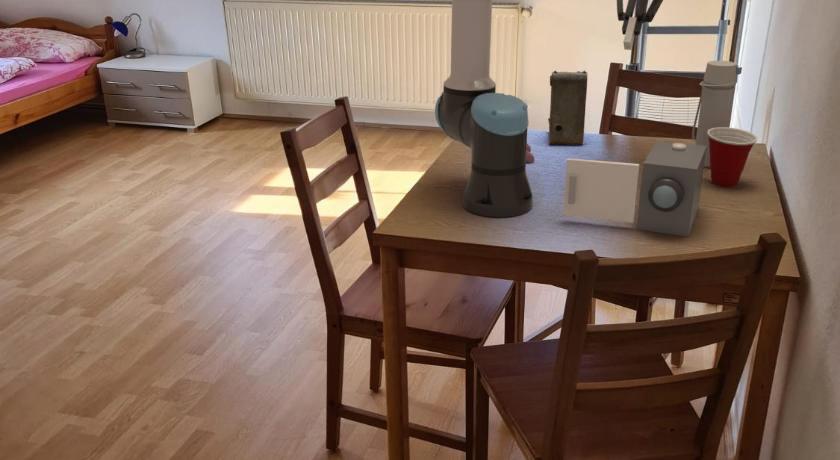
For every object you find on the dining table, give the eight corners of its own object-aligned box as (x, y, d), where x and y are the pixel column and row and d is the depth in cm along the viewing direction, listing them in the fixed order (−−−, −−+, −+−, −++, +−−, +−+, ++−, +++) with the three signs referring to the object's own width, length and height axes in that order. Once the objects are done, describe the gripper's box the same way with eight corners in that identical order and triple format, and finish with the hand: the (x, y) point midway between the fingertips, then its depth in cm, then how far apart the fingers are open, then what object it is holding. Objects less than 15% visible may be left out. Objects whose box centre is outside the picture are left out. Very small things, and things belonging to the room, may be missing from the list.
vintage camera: (579, 132, 223) (582, 62, 215) (584, 146, 208) (588, 71, 201) (545, 132, 224) (547, 62, 216) (548, 146, 209) (550, 72, 202)
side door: (633, 220, 157) (639, 164, 152) (632, 224, 155) (638, 167, 151) (564, 213, 161) (567, 158, 157) (562, 217, 160) (566, 161, 155)
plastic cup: (730, 194, 174) (738, 143, 169) (690, 181, 182) (697, 132, 177) (760, 185, 179) (768, 134, 175) (720, 172, 188) (727, 124, 183)
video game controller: (516, 157, 206) (504, 134, 203) (531, 150, 205) (520, 127, 203) (519, 169, 197) (508, 146, 194) (536, 161, 196) (524, 138, 193)
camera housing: (686, 241, 151) (695, 169, 145) (632, 233, 155) (639, 162, 149) (698, 208, 166) (707, 142, 161) (648, 202, 170) (656, 137, 165)
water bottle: (730, 165, 193) (745, 63, 183) (710, 171, 189) (724, 68, 179) (699, 155, 200) (712, 57, 190) (679, 161, 196) (691, 61, 186)
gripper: (679, -30, 176) (659, 58, 168) (620, -31, 181) (599, 54, 173) (678, -54, 169) (657, 37, 162) (618, -54, 174) (595, 33, 167)
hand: (627, 45), depth 168 cm, fingers closed
